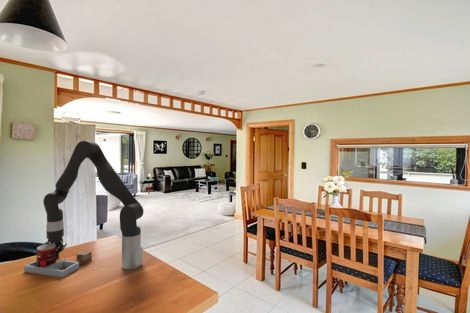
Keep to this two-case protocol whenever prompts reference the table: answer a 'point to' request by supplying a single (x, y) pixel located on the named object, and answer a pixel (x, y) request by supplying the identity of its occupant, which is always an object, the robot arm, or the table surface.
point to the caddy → (53, 268)
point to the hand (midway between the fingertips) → (55, 259)
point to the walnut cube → (84, 257)
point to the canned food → (46, 255)
